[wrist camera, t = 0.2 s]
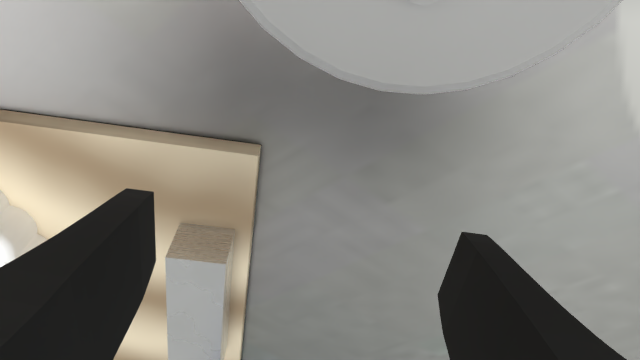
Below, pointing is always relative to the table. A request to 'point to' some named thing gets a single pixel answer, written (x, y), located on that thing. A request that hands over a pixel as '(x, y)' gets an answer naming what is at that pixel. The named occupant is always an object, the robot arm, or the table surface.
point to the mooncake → (16, 232)
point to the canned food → (426, 38)
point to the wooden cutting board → (170, 219)
